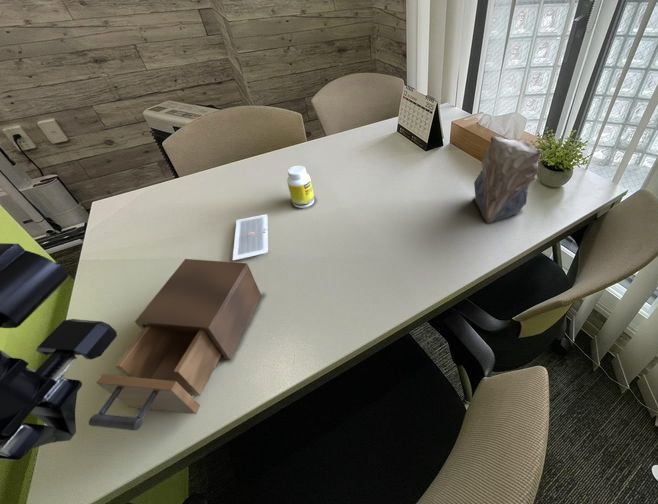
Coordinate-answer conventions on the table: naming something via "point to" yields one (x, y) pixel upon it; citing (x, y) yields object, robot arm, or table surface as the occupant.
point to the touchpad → (251, 237)
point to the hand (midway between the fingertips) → (69, 436)
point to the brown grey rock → (505, 178)
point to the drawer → (159, 374)
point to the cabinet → (206, 301)
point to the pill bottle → (300, 187)
